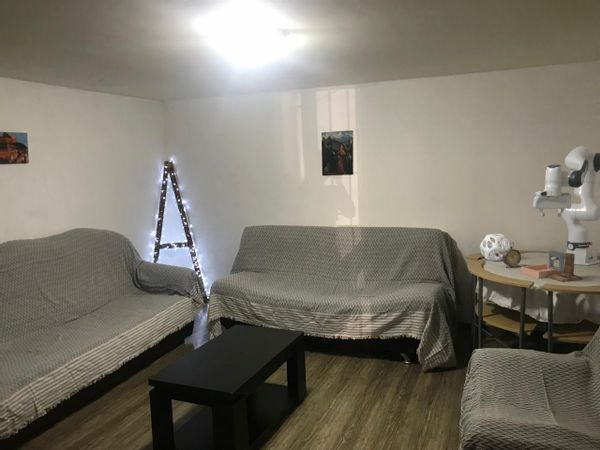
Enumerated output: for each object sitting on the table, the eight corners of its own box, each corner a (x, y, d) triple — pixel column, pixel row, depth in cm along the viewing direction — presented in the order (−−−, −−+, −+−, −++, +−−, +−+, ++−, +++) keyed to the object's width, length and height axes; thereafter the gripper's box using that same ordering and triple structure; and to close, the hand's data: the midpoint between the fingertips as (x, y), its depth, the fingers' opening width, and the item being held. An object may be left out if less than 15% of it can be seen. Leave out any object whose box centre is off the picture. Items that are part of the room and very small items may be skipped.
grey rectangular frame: (551, 267, 279) (552, 250, 277) (563, 271, 271) (564, 252, 269) (548, 268, 278) (549, 250, 276) (560, 271, 270) (561, 253, 269)
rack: (566, 275, 284) (567, 251, 282) (581, 279, 275) (582, 254, 273) (544, 278, 279) (545, 254, 277) (558, 282, 270) (559, 257, 268)
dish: (546, 269, 298) (546, 263, 298) (565, 274, 285) (565, 268, 285) (520, 273, 292) (521, 266, 292) (538, 278, 279) (539, 271, 278)
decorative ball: (502, 256, 341) (503, 231, 338) (515, 262, 321) (516, 236, 319) (474, 257, 340) (475, 232, 338) (486, 263, 321) (487, 237, 318)
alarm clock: (505, 268, 304) (506, 243, 302) (500, 266, 310) (501, 242, 307) (521, 267, 307) (522, 242, 304) (515, 265, 312) (516, 241, 309)
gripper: (569, 192, 280) (567, 215, 282) (532, 192, 283) (531, 215, 285) (574, 193, 274) (572, 217, 276) (536, 192, 277) (534, 216, 279)
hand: (551, 216), depth 281 cm, fingers open, 8 cm apart
